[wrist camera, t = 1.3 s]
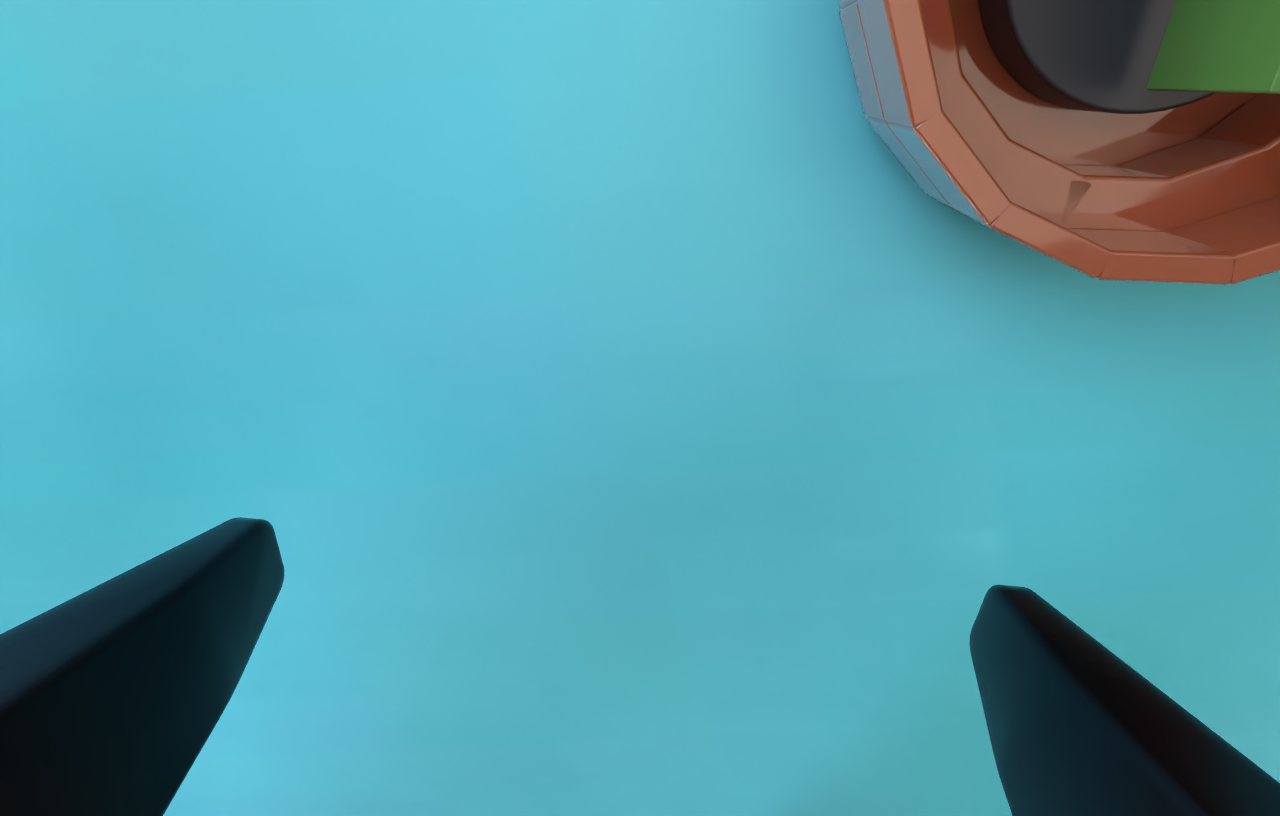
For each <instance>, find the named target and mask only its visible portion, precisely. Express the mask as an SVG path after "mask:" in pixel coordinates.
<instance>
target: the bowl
mask: <svg viewBox="0 0 1280 816" xmlns="http://www.w3.org/2000/svg"><path fill="white" fill-rule="evenodd" d="M839 6H840V9H841V10H840V18H841V22H842V27H843V31H844V35H845V39H846V43H847V47H848V51H849V55H850V59H851V63H852V67H853V71H854V75H855V79H856V83H857V87H858V91H859V95H860V99H861V103H862V107H863V112H864V114H865V115H866V116H867V121H868V122H869V123H870V124H871V126H872V127H873V128H874V129H875V131H876V132H877V133H878V135H879V136H880V137H881V138H882V140H883V141H884V142H885V143H886V145H887V146H888V147H889V149H890V150H891V151H892V152H893V154H894V155H895V156H896V157H897V159H898V160H899V161H900V163H901V164H902V165H903V166H904V168H905V169H906V170H907V171H908V173H909V174H910V175H911V177H912V178H913V179H914V180H915V182H916V183H917V184H918V185H919V187H920V188H921V189H922V191H924V192H926V194H927V195H929V196H931V197H933V198H935V199H936V200H938V201H940V202H942V203H944V204H946V205H948V206H949V207H951V208H953V209H955V210H957V211H959V212H961V213H962V214H964V215H966V216H968V217H970V218H972V219H974V220H975V221H977V222H979V223H981V224H983V225H985V226H987V227H988V228H990V229H992V230H994V231H996V232H999V233H1001V234H1003V235H1005V236H1007V237H1009V238H1011V239H1013V240H1015V241H1017V242H1019V243H1021V244H1023V245H1025V246H1028V247H1030V248H1032V249H1034V250H1036V251H1038V252H1040V253H1042V254H1044V255H1046V256H1048V257H1050V258H1052V259H1054V260H1056V261H1059V262H1061V263H1063V264H1065V265H1067V266H1069V267H1071V268H1073V269H1075V270H1077V271H1079V272H1081V273H1083V274H1085V275H1088V276H1090V277H1092V278H1097V279H1099V280H1120V281H1146V282H1172V283H1198V284H1224V285H1225V284H1229V283H1230V284H1234V283H1237V282H1241V281H1244V280H1247V279H1251V278H1254V277H1257V276H1261V275H1264V274H1268V273H1271V272H1274V271H1278V270H1280V94H1269V93H1225V92H1217V93H1215V94H1213V95H1211V96H1209V97H1207V98H1204V99H1201V100H1199V101H1196V102H1193V103H1191V104H1188V105H1185V106H1181V107H1177V108H1173V109H1169V110H1166V111H1159V112H1152V113H1144V114H1118V113H1106V112H1093V111H1084V110H1076V109H1069V108H1065V107H1062V106H1059V105H1055V104H1052V103H1050V102H1048V101H1045V100H1043V99H1041V98H1039V97H1037V96H1035V95H1034V94H1032V93H1031V92H1029V91H1028V90H1026V89H1025V88H1024V87H1022V86H1021V85H1020V84H1019V83H1018V82H1017V81H1016V80H1015V79H1014V78H1013V77H1011V76H1010V75H1009V74H1008V72H1007V71H1006V70H1005V68H1004V67H1003V65H1002V64H1001V63H1000V61H999V60H998V58H997V57H996V55H995V53H994V51H993V49H992V47H991V45H990V43H989V41H988V38H987V35H986V32H985V29H984V26H983V22H982V17H981V12H980V7H979V0H840V1H839Z"/></svg>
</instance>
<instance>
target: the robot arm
mask: <svg viewBox="0 0 1280 816" xmlns="http://www.w3.org/2000/svg"><path fill="white" fill-rule="evenodd" d="M283 580H284V566H283V562H282V559H281V555H280V551H279V547H278V544H277V540H276V536H275V532H274V529H273V526H272V525H271V524H270V523H269V522H268V521H266V520H263V519H251V518H233V519H231V520H228V521H226V522H224V523H222V524H220V525H218V526H216V527H214V528H212V529H210V530H208V531H206V532H204V533H202V534H200V535H198V536H196V537H194V538H192V539H190V540H188V541H186V542H184V543H182V544H180V545H178V546H176V547H174V548H172V549H170V550H168V551H166V552H164V553H162V554H160V555H158V556H156V557H154V558H152V559H150V560H148V561H146V562H144V563H142V564H140V565H138V566H136V567H134V568H132V569H130V570H128V571H126V572H124V573H122V574H120V575H118V576H116V577H114V578H112V579H110V580H108V581H106V582H104V583H102V584H100V585H98V586H96V587H94V588H92V589H90V590H88V591H86V592H84V593H82V594H80V595H78V596H76V597H74V598H72V599H70V600H68V601H66V602H64V603H62V604H60V605H58V606H56V607H54V608H52V609H50V610H48V611H46V612H44V613H42V614H40V615H38V616H36V617H34V618H32V619H30V620H28V621H26V622H24V623H22V624H20V625H18V626H16V627H14V628H12V629H10V630H8V631H6V632H4V633H2V634H0V816H163V814H164V813H165V811H166V809H167V808H168V806H169V804H170V802H171V801H172V799H173V797H174V796H175V794H176V792H177V790H178V789H179V787H180V785H181V783H182V782H183V780H184V778H185V777H186V775H187V773H188V771H189V770H190V768H191V766H192V765H193V763H194V761H195V759H196V758H197V756H198V754H199V753H200V751H201V749H202V747H203V746H204V744H205V742H206V741H207V739H208V737H209V735H210V734H211V732H212V730H213V728H214V727H215V725H216V723H217V722H218V720H219V718H220V716H221V715H222V713H223V711H224V709H225V707H226V706H227V704H228V702H229V700H230V698H231V697H232V694H233V692H234V690H235V688H236V686H237V684H238V682H239V680H240V678H241V676H242V674H243V671H244V669H245V667H246V665H247V663H248V660H249V658H250V656H251V654H252V652H253V649H254V647H255V645H256V643H257V641H258V638H259V636H260V634H261V632H262V630H263V627H264V625H265V623H266V621H267V618H268V616H269V614H270V612H271V610H272V607H273V605H274V603H275V601H276V599H277V596H278V594H279V592H280V590H281V587H282V584H283ZM970 651H971V656H972V661H973V665H974V669H975V674H976V678H977V683H978V687H979V691H980V696H981V700H982V705H983V709H984V713H985V718H986V722H987V727H988V731H989V735H990V740H991V744H992V749H993V753H994V757H995V761H996V765H997V768H998V772H999V776H1000V779H1001V782H1002V785H1003V788H1004V791H1005V794H1006V797H1007V800H1008V803H1009V806H1010V809H1011V812H1012V815H1013V816H1280V783H1279V782H1278V781H1276V780H1275V779H1274V778H1272V777H1271V776H1270V775H1269V774H1267V773H1266V772H1265V771H1263V770H1262V769H1261V768H1260V767H1258V766H1257V765H1256V764H1254V763H1253V762H1252V761H1251V760H1249V759H1248V758H1247V757H1245V756H1244V755H1243V754H1242V753H1240V752H1239V751H1238V750H1236V749H1235V748H1234V747H1233V746H1231V745H1230V744H1229V743H1227V742H1226V741H1225V740H1224V739H1222V738H1221V737H1220V736H1219V735H1217V734H1216V733H1215V732H1213V731H1212V730H1211V729H1210V728H1208V727H1207V726H1206V725H1204V724H1203V723H1202V722H1201V721H1199V720H1198V719H1197V718H1195V717H1194V716H1193V715H1192V714H1190V713H1189V712H1188V711H1186V710H1185V709H1184V708H1183V707H1181V706H1180V705H1179V704H1177V703H1176V702H1175V701H1174V700H1172V699H1171V698H1170V697H1168V696H1167V695H1166V694H1165V693H1163V692H1162V691H1161V690H1159V689H1158V688H1157V687H1156V686H1154V685H1153V684H1152V683H1150V682H1149V681H1148V680H1147V679H1145V678H1144V677H1143V676H1141V675H1140V674H1139V673H1138V672H1136V671H1135V670H1134V669H1132V668H1131V667H1130V666H1129V665H1127V664H1126V663H1125V662H1123V661H1122V660H1121V659H1120V658H1118V657H1117V656H1116V655H1114V654H1113V653H1112V652H1111V651H1109V650H1108V649H1107V648H1105V647H1104V646H1103V645H1102V644H1100V643H1099V642H1098V641H1096V640H1095V639H1094V638H1093V637H1091V636H1090V635H1089V634H1087V633H1086V632H1085V631H1084V630H1082V629H1081V628H1080V627H1078V626H1077V625H1076V624H1075V623H1073V622H1072V621H1071V620H1069V619H1068V618H1067V617H1066V616H1064V615H1063V614H1062V613H1060V612H1059V611H1058V610H1057V609H1055V608H1054V607H1053V606H1051V605H1050V604H1049V603H1048V602H1046V601H1045V600H1044V599H1042V598H1041V597H1040V596H1039V595H1037V594H1036V593H1035V592H1033V591H1032V590H1030V589H1028V588H1025V587H1018V586H1007V585H995V586H992V587H991V588H990V589H989V590H988V591H987V593H986V595H985V598H984V600H983V603H982V605H981V608H980V610H979V613H978V615H977V617H976V620H975V622H974V625H973V627H972V630H971V634H970Z"/></svg>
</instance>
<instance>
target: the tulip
mask: <svg viewBox="0 0 1280 816" xmlns="http://www.w3.org/2000/svg"><path fill="white" fill-rule="evenodd" d="M979 7H980V12H981V17H982V22H983V26H984V29H985V32H986V35H987V38H988V41H989V43H990V45H991V47H992V49H993V51H994V53H995V55H996V57H997V58H998V60H999V61H1000V63H1001V64H1002V65H1003V67H1004V68H1005V70H1006V71H1007V72H1008V74H1009V75H1010V76H1011V77H1013V78H1014V79H1015V80H1016V81H1017V82H1018V83H1019V84H1020V85H1021V86H1022V87H1024V88H1025V89H1026V90H1028V91H1029V92H1031V93H1032V94H1034V95H1035V96H1037V97H1039V98H1041V99H1043V100H1045V101H1048V102H1050V103H1052V104H1055V105H1059V106H1062V107H1065V108H1069V109H1076V110H1084V111H1093V112H1106V113H1118V114H1144V113H1152V112H1159V111H1166V110H1169V109H1173V108H1177V107H1181V106H1185V105H1188V104H1191V103H1193V102H1196V101H1199V100H1201V99H1204V98H1207V97H1209V96H1211V95H1213V94H1215V93H1217V92H1225V93H1269V94H1280V0H979Z"/></svg>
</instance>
